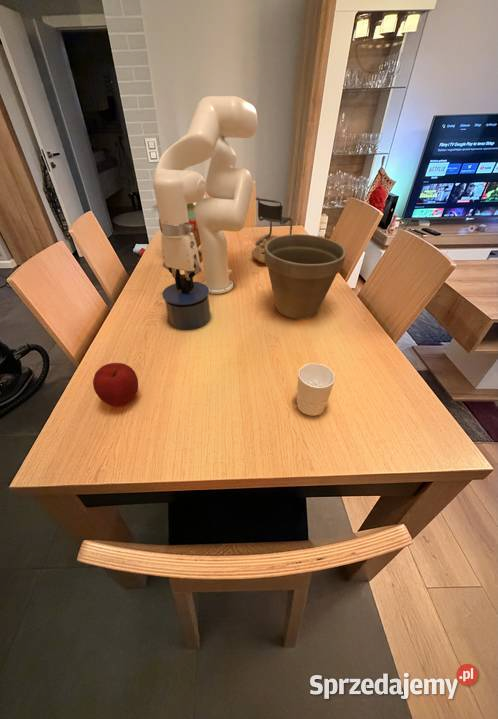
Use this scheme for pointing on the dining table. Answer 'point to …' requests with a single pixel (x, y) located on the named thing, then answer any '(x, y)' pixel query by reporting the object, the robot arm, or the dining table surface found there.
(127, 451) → the dining table surface
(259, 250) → the oil lamp
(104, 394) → the apple
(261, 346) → the dining table surface
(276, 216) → the chair
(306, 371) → the white cup
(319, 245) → the plant pot
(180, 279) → the lid
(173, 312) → the tin
